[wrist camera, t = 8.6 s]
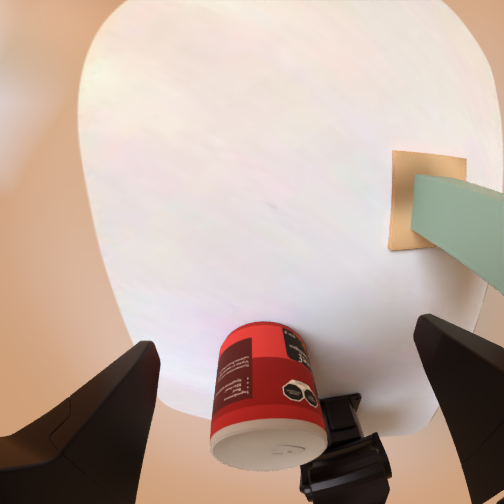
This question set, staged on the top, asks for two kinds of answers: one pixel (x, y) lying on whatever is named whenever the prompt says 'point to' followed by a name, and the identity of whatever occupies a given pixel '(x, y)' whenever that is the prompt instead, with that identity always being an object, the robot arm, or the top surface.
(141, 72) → the top surface
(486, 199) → the tea tin
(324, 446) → the canned food
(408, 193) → the coaster
